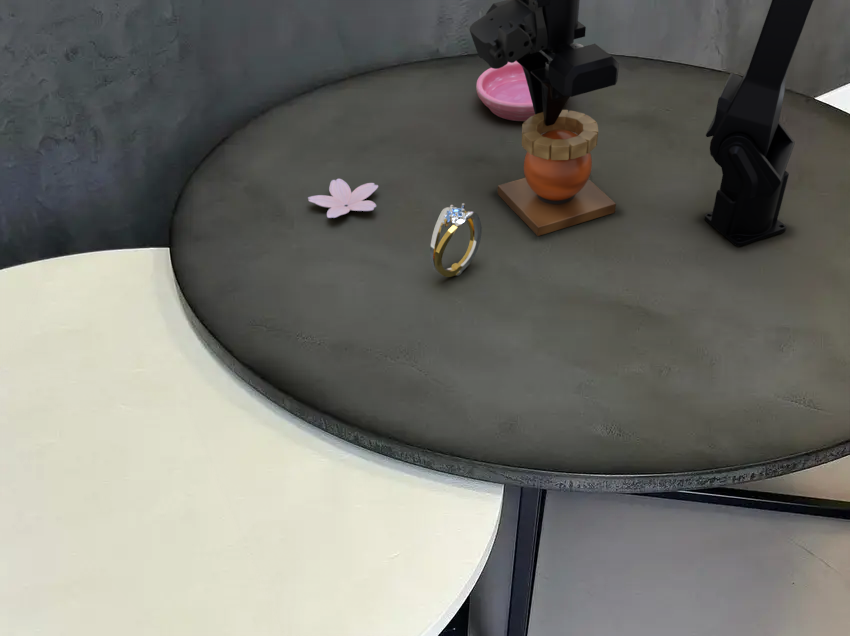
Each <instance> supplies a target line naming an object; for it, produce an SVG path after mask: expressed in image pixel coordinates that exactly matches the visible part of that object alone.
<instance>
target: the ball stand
mask: <svg viewBox="0 0 850 636" xmlns="http://www.w3.org/2000/svg"><path fill="white" fill-rule="evenodd" d="M541 135H542V136H543V137H547V138H550V139H569V138H573V137H576V136H578V134H577V133H575V132H571V131H568V130H562V129H558V130H551V131H548V132H545V133H542V134H541ZM592 167H593V160H592V154H591V152H590V153H589V154H587V153H586V155H584V156H581V157H578V158H575V159H570V158H569V160H551V158H550V159H549V160H547V159H543V158H540V157H536V156H533V154H532V155H531V154H530V153H528V152H527V151H526V153H525V156H524V161H523V173H524V177H523V178H519V179H516V180H512V181H509V182H508V181H507V182H504V183H502V184H498V185H497V195H498V196H499V198H500V199H502V200H503V202H505V204H506V205H507V206H508V207H509V208H510V210H512V211H513V212H514V213H515V214H516V215H517V216H518V217H519V218H520V219H521V220H522V221H523V223H524V224H526V226H527V227H528V228H530V230H531V231H532V232H533V233H534V234H535V235H536V236H537V237H540V236H543V235H547V234H549V233H550V234H551V233H553V232H556V231H560V230H563V229H567V228H569V227H573V226H575V225H579V224H582V223H585V222H586V223H587V222H589V221H592V220H595V219H598V218H599V219H600V218H602V217H604V216H608V215H612V214H615V213H616V208H617V207H616V206H617V203H616V202H615V201H614V200H613V199H611V197H610V196H608V194H607V193H605V192H604V191H603V190H602V189H601V188H599V187H598V185H596V184H595V183H594V182H593V181H592V180H590V176H591V173H592Z"/></svg>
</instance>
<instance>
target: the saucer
mask: <svg viewBox="0 0 850 636" xmlns="http://www.w3.org/2000/svg"><path fill="white" fill-rule="evenodd" d="M476 95H477V96H478V98H479V100H480V101H481V102H482V104H483V105H484V106H486V107H487V108H488V109H489V111H490V112H491V113H492V114H494V115H495V116H496V117H499V118H500V119H501V118H502V119H505V120H508V121H515V122H525V121H526V120H527V119H529V118H530V117H531V116H534V115H535V112H534V108H533V104H532V100H531V96H530V92H529V88H528V84H527V80H526V77H525V74H524V70H523V68H522V66H521V65H520V64H519V63H518V62H517V61H515V62H514V63H510V62H508V63H507V64H506V65H505V66H503V67H501V68H498V69H494V68H491V67H489V68H488V69H486V70H484V71H483V72H482V73H481V74H480V75H479V76H478V78H477V80H476Z"/></svg>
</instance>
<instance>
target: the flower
mask: <svg viewBox="0 0 850 636" xmlns="http://www.w3.org/2000/svg"><path fill="white" fill-rule="evenodd" d="M350 187H351V186H349V184H348V183H347V182H346V181H345V180H343V179H342V178H339V177H338V178H337V179H331V181H330V183H329V188H328V190H329V194H330V195H325V194H317V195H311V196H307V199H308V202H310V203H313V204H315V205H317V206H319V207H322V208H328V210H327V212H326V217H327V218H328V219H332V218H333V219H335V218H338V217H340V216H343V215H346V214H349V212H350V211H355V212H356V211H357V212H362V211H363V212H371V211H374V209H375V208H377V204H376V203H375V202H374V201H373V200H367V198H369V197H370V196H371V195H372V194H373V193H374V192H375V191H376V190H378V188H379V185H378V184H375V182H367V183H364V184H361V185H359V186H357V187H356V188H355V189H354V190H352V189H351V188H350ZM365 199H366V200H365Z"/></svg>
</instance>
